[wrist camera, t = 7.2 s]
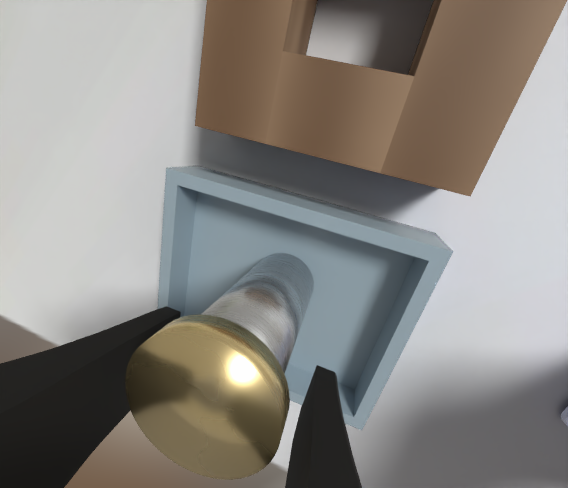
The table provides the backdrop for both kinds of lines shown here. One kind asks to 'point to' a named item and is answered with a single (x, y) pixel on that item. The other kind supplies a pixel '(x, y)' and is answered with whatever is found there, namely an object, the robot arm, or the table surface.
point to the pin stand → (374, 86)
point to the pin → (224, 373)
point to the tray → (322, 263)
